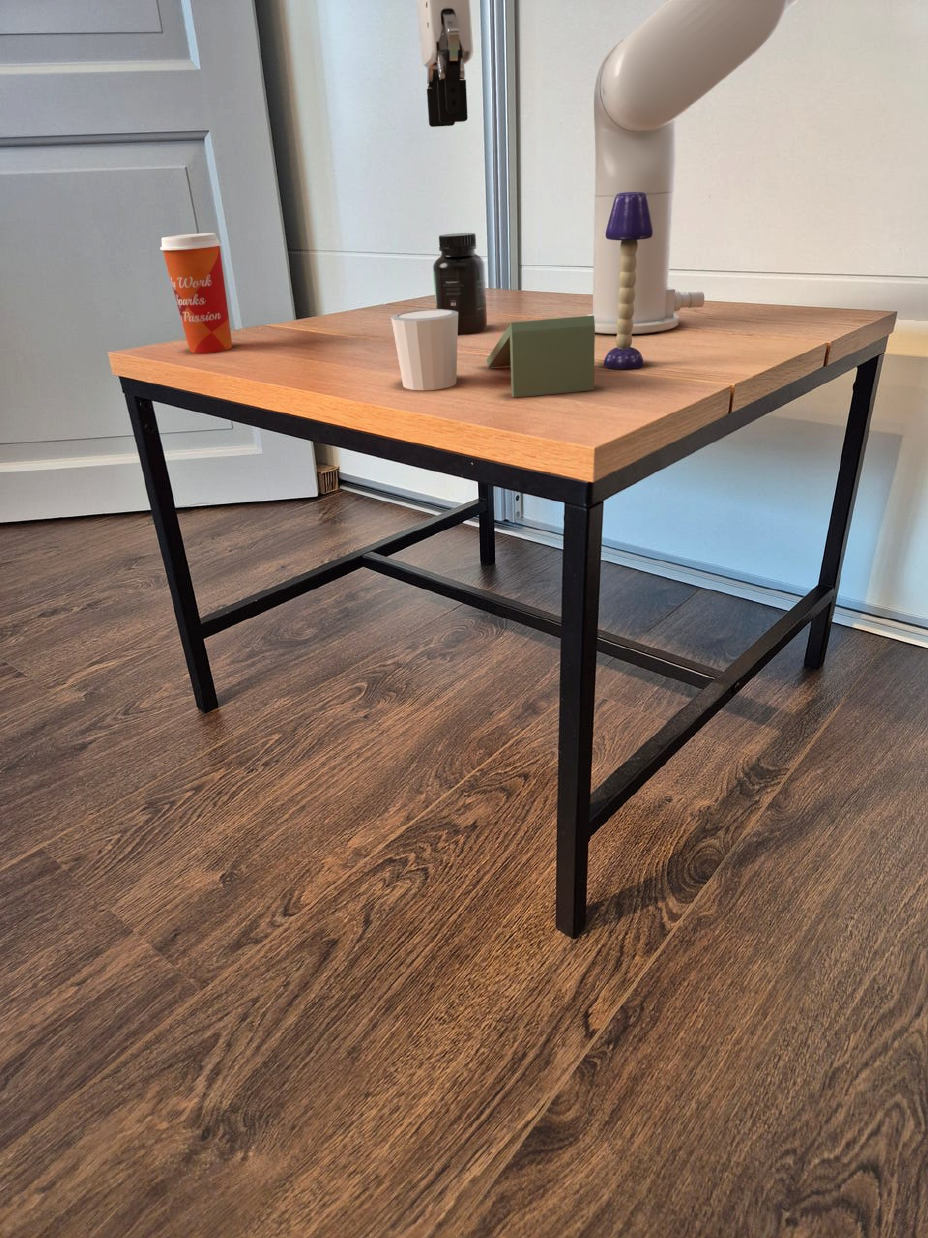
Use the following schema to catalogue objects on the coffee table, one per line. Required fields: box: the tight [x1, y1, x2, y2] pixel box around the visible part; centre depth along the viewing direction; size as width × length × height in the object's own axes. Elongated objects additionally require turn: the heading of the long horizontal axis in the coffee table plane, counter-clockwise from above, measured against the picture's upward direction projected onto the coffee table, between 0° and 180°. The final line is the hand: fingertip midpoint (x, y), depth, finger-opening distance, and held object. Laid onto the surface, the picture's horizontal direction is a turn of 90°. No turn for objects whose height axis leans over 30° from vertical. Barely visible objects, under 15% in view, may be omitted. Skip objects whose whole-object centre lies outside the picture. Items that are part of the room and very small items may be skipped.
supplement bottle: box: [432, 232, 488, 335], centre depth 112 cm, size 7×7×12 cm
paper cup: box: [159, 232, 233, 354], centre depth 109 cm, size 8×8×14 cm
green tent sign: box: [486, 315, 596, 399], centre depth 85 cm, size 14×8×7 cm, turn 9°
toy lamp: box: [603, 192, 653, 370], centre depth 86 cm, size 5×5×17 cm
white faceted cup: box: [390, 308, 459, 391], centre depth 86 cm, size 7×7×7 cm
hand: (447, 123), depth 99 cm, fingers open, 9 cm apart
